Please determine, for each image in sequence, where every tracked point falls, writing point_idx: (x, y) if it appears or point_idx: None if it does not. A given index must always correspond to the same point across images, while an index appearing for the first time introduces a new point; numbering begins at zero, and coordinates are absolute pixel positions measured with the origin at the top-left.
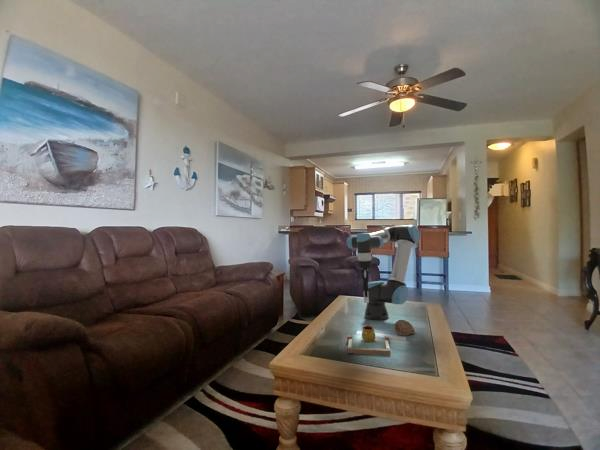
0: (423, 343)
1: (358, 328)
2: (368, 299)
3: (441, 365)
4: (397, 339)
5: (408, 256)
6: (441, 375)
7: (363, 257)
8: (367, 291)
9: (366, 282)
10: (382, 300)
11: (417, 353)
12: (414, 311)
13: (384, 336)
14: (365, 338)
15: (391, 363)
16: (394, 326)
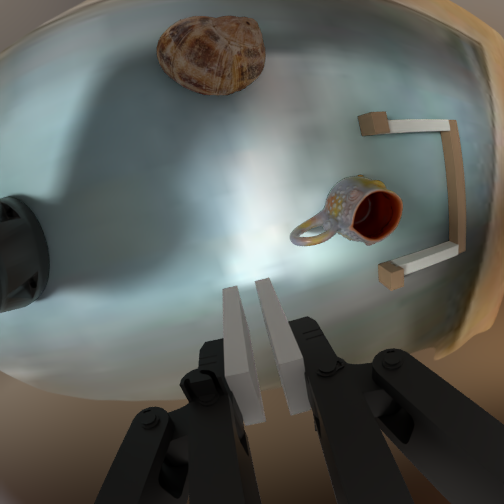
0: (313, 3)
1: (198, 289)
2: (276, 296)
3: (443, 16)
4: (303, 84)
5: None
6: (476, 37)
7: None
8: (304, 365)
9: (499, 444)
10: None
11: (408, 41)
12: None
13: (376, 133)
14: (381, 216)
15: (478, 124)
16: (230, 89)
